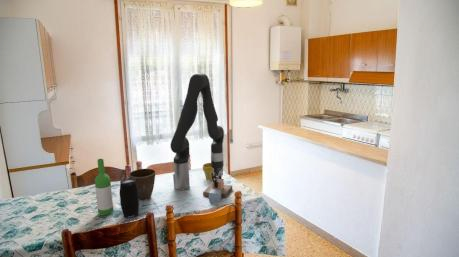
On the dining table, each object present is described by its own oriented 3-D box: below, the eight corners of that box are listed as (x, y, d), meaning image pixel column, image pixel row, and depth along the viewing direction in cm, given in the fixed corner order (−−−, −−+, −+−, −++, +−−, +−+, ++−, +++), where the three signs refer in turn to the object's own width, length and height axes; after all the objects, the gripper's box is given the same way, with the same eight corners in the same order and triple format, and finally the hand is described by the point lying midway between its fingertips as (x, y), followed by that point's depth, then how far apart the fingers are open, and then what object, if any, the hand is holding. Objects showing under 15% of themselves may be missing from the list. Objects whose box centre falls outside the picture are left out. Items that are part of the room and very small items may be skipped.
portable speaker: (118, 217, 167) (114, 181, 164) (132, 210, 175) (128, 176, 171) (130, 220, 163) (126, 184, 159) (143, 213, 171) (140, 178, 167)
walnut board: (203, 195, 192) (203, 191, 191) (211, 187, 205) (211, 183, 205) (225, 198, 188) (225, 194, 187) (232, 189, 201) (232, 185, 200)
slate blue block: (209, 201, 184) (208, 192, 183) (212, 197, 189) (212, 189, 188) (218, 202, 182) (217, 193, 181) (221, 198, 187) (221, 190, 186)
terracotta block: (212, 189, 194) (212, 181, 193) (215, 186, 199) (215, 178, 198) (221, 190, 193) (220, 182, 192) (223, 187, 198) (223, 179, 197)
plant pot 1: (150, 204, 182) (148, 177, 179) (126, 202, 185) (124, 176, 182) (161, 194, 196) (159, 169, 193) (138, 192, 199) (136, 168, 196)
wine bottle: (108, 208, 178) (103, 156, 172) (116, 212, 173) (111, 158, 167) (95, 213, 172) (89, 159, 166) (103, 217, 167) (97, 162, 161)
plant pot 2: (211, 182, 214) (211, 168, 212) (200, 179, 220) (199, 165, 218) (221, 177, 222) (220, 164, 220) (210, 174, 228) (209, 161, 226)
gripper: (215, 155, 200) (216, 180, 203) (207, 162, 187) (208, 189, 190) (226, 156, 198) (227, 181, 201) (219, 163, 184) (219, 190, 188)
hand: (217, 185), depth 196 cm, fingers open, 6 cm apart
